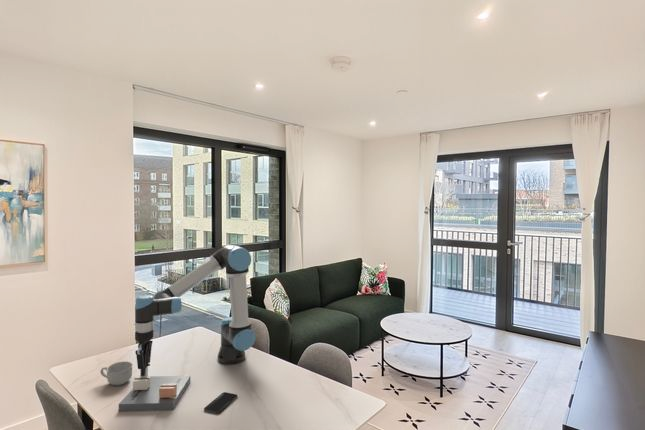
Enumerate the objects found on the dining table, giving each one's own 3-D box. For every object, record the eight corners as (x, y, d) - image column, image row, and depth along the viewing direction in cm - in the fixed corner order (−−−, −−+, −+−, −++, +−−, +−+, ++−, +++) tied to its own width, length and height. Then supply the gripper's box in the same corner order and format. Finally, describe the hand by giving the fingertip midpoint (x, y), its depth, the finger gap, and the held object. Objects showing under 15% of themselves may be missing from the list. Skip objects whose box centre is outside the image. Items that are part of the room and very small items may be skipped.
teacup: (137, 377, 176) (137, 361, 175) (122, 389, 165) (122, 372, 165) (110, 376, 177) (110, 360, 177) (94, 387, 166) (94, 370, 166)
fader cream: (150, 385, 162) (150, 375, 162) (146, 389, 158) (146, 379, 158) (136, 385, 161) (136, 375, 161) (132, 390, 157) (132, 380, 157)
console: (190, 381, 172) (190, 375, 172) (173, 409, 149) (173, 402, 148) (143, 382, 171) (143, 376, 171) (118, 411, 147) (118, 403, 147)
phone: (202, 409, 148) (223, 391, 162) (202, 411, 148) (223, 394, 162) (218, 413, 146) (238, 394, 160) (218, 415, 146) (238, 397, 160)
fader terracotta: (176, 392, 156) (176, 382, 156) (173, 397, 152) (173, 387, 152) (162, 392, 155) (162, 382, 155) (159, 397, 151) (159, 387, 151)
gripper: (142, 325, 168) (141, 374, 168) (129, 335, 155) (128, 389, 155) (158, 325, 168) (158, 374, 169) (146, 335, 155) (146, 388, 156)
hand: (144, 381), depth 162 cm, fingers closed
